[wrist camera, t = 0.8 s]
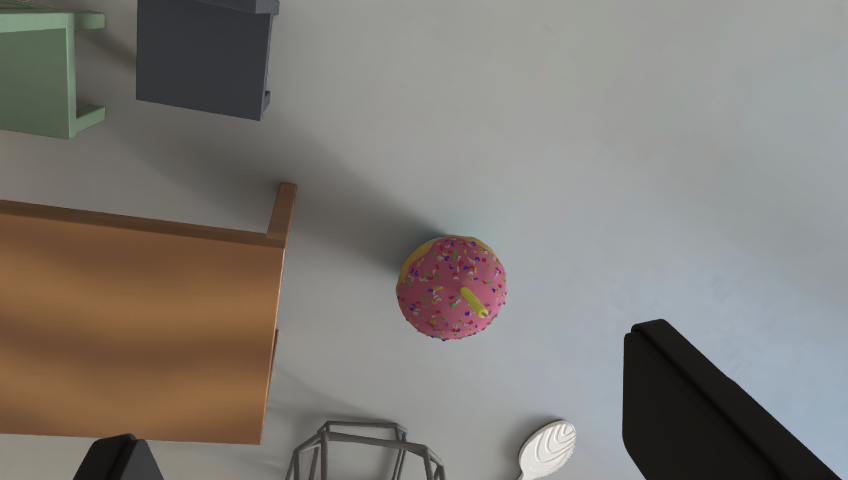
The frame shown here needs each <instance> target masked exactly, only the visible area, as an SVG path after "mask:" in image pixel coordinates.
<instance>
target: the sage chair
mask: <svg viewBox="0 0 848 480" xmlns="http://www.w3.org/2000/svg"><path fill="white" fill-rule="evenodd" d="M104 27H105V15H104V13H100V12H95V11H63V10H58V9H54V8H49V7H44V6H39V5H34V4H29V3H24V2H19V1H14V0H0V129H3V130H10V131H16V132H23V133H29V134H36V135H42V136H49V137H55V138H61V139H68V140H70V139H72V138H74V137H76V136H77V133H78V132H80V131H82V130H84V129H86V128H88V127H90V126H92V125H94V124H96V123H98V122H100V121H102V120H104V119H105V107H104V106H99V105H93V104H91V105H88V106H86V107H83V108H81V109H78V110H76V84H75V41H74V31H75V30H87V29H99V28H104Z"/></svg>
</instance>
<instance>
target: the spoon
mask: <svg viewBox="0 0 848 480" xmlns="http://www.w3.org/2000/svg"><path fill="white" fill-rule="evenodd" d="M575 443H576V431H575V429H574V426H573V425H572V424H571V423H570V422H567V421H557V422H553V423H551V424H548V425H546V426H544V427H543V428H541V429H540V430H538V431H537V432H536V433H534V434H533V435H532V436H531V437H530V438H529V439H528V440H527V441H526V443H525V444H524V446H523V447H522V449H521V451H520V454H519V465H520V467H521V469H522V474H521V476H520V477H519V478H518V479H517V480H536V479H537V478H538V479H539V477H540V478H541V477H542V478H543V476H544V477H545V476H547V475H551V474H552V473H554V472H556V471H557V470H559V469H561V467H562V466H563V465H565V463H566V462H567V461H568V460H569V457H571V455H572V452H573V451H574V447H575V445H576V444H575Z"/></svg>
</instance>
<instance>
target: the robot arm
mask: <svg viewBox="0 0 848 480" xmlns="http://www.w3.org/2000/svg"><path fill="white" fill-rule="evenodd" d="M622 437H623V442H624V445H625V448H626V450H627V452H628V454H629V455H630V457H631V458H632V460H633V461H634V463H635V464H636V466H637V467H638V469H639V470H640V472H641V473H642V475H643V476H644V477H645V479H646V480H842V479H840V478H839V477H838V476H837V475H836V474H835V473H834V472H833V471H832V470H831V469H830V468H828V467H827V466H826V465H825V464H824V463H823V462H822V461H821V460H820V459H819V458H818V457H816V456H815V455H814V454H813V453H812V452H811V451H810V450H809V449H808V448H807V447H805V446H804V445H803V444H802V443H801V442H800V441H799V440H798V439H797V438H796V437H795V436H793V435H792V434H791V433H790V432H789V431H788V430H787V429H786V428H785V427H784V426H783V425H781V424H780V423H779V422H778V421H777V420H776V419H775V418H774V417H773V416H772V415H771V414H769V413H768V412H767V411H766V410H765V409H764V408H763V407H762V406H761V405H760V404H759V403H757V402H756V401H755V400H754V399H753V398H752V397H751V396H750V395H749V394H748V393H746V392H745V391H744V390H743V389H742V388H741V387H740V386H739V385H738V384H737V383H736V382H734V381H733V380H731V379H730V378H729V377H727V376H726V375H725V374H724V373H722V372H721V371H720V370H719V369H718V368H717V367H716V366H715V365H714V364H713V363H712V362H710V361H709V360H708V359H707V358H706V357H705V356H704V355H703V354H702V353H701V352H700V351H699V350H697V349H696V348H695V347H694V346H693V345H692V344H691V343H690V342H689V341H688V340H687V339H685V338H684V337H683V336H682V335H681V334H680V333H679V332H678V331H677V330H676V329H675V328H674V327H672V326H671V325H670V324H669V323H668V322H667V321H665V320H664V319H657V320H652V321H648V322H643V323H638V324H635V325H633V326H632V328H631V333H627V334H626V335H625V337H624V366H623V421H622ZM73 480H164V479H163V477H162V475H161V472H160V470H159V468H158V466H157V464H156V461H155V459H154V457H153V455H152V453H151V451H150V448H149V446H148V444H147V442H146V441H145V440H144V439H136V437H135V436H134V435H133V434H132V433H127V434H122V435H117V436H113V437H108V438H103V439H99V440H97V441H95V442H94V443H93V444H92V446H91V447H90V449H89V451H88V453H87V454H86V456H85V458H84V460H83V462H82V463H81V465H80V467H79V469H78V471H77V473H76V474H75V476H74V478H73Z"/></svg>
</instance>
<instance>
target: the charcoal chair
mask: <svg viewBox="0 0 848 480" xmlns="http://www.w3.org/2000/svg"><path fill="white" fill-rule="evenodd" d="M278 12H279V1H278V0H138V9H137V72H136V99H137V100H142V101H147V102H153V103H159V104H165V105H171V106H176V107H182V108H188V109H194V110H199V111H205V112H211V113H217V114H223V115H228V116H234V117H240V118H246V119H251V120H257V121H261V120H262V118H263V112H264V110H265V109H266V107H267V106H268V104H269V99H270V91H266V80H267V69H268V59H269V49H270V39H271V29H272V19H273V15H278Z"/></svg>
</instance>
